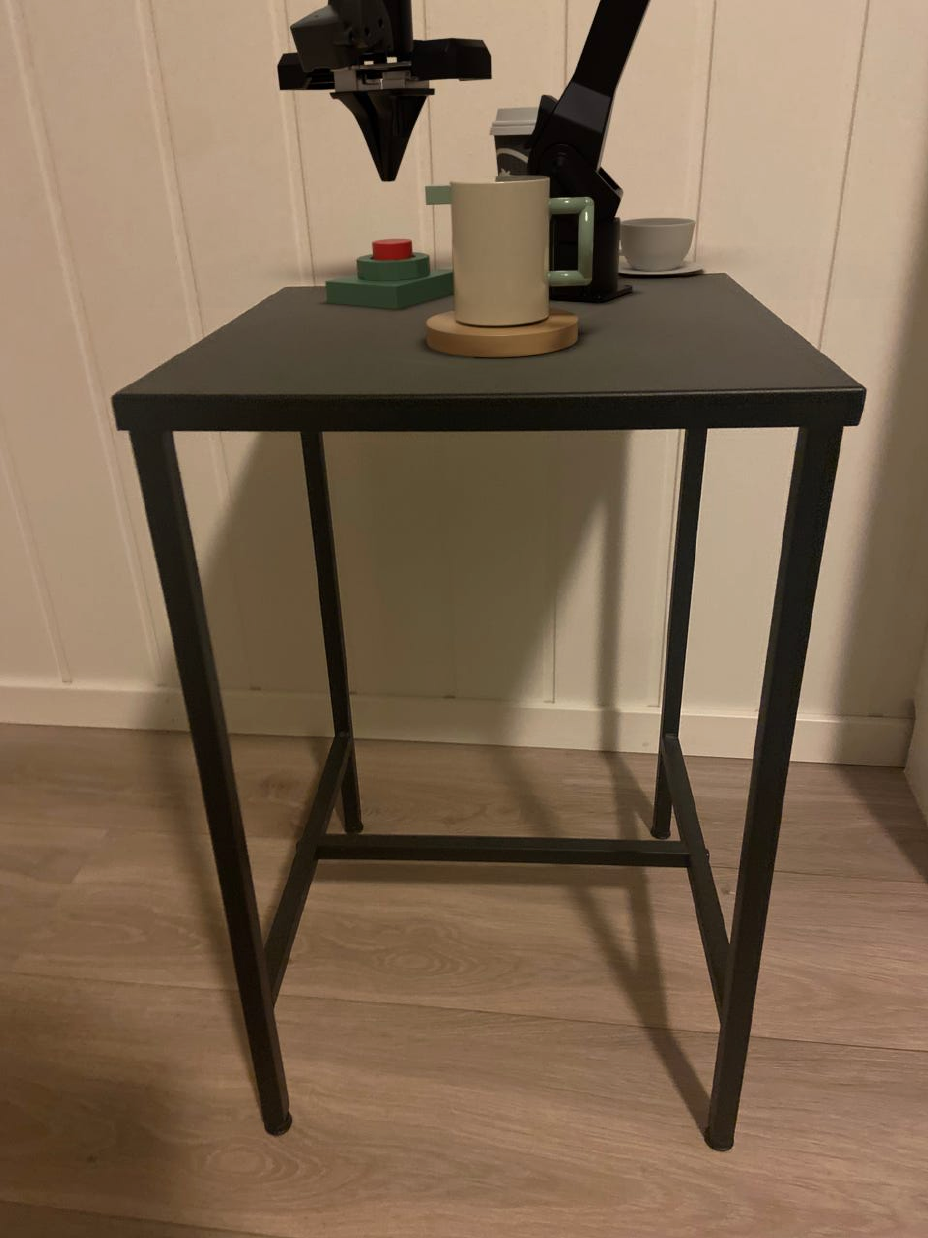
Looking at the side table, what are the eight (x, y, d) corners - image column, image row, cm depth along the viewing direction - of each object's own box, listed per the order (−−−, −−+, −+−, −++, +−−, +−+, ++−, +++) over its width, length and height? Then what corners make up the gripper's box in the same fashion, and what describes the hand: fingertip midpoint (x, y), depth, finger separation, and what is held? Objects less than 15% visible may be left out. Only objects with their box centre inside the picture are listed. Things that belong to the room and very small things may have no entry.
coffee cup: (584, 288, 87) (589, 104, 80) (484, 288, 89) (479, 108, 82) (593, 272, 95) (598, 104, 88) (500, 273, 97) (498, 108, 90)
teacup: (715, 265, 96) (719, 216, 94) (690, 280, 88) (694, 227, 86) (621, 263, 100) (623, 215, 98) (590, 277, 92) (591, 226, 90)
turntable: (479, 320, 75) (479, 301, 74) (603, 332, 69) (604, 311, 69) (396, 348, 67) (395, 327, 66) (529, 363, 62) (529, 340, 61)
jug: (428, 327, 65) (420, 184, 61) (437, 309, 71) (431, 178, 67) (593, 323, 64) (597, 178, 60) (588, 305, 70) (592, 172, 66)
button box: (394, 286, 92) (391, 248, 90) (461, 290, 88) (460, 251, 86) (327, 302, 85) (323, 262, 83) (397, 309, 81) (394, 266, 79)
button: (389, 257, 87) (388, 237, 86) (420, 259, 85) (419, 239, 85) (365, 263, 85) (363, 242, 84) (397, 265, 83) (395, 243, 82)
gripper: (216, -31, 73) (245, 188, 81) (406, -62, 64) (420, 189, 71) (312, -19, 81) (330, 178, 89) (493, -45, 72) (497, 178, 79)
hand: (388, 181), depth 82 cm, fingers closed
